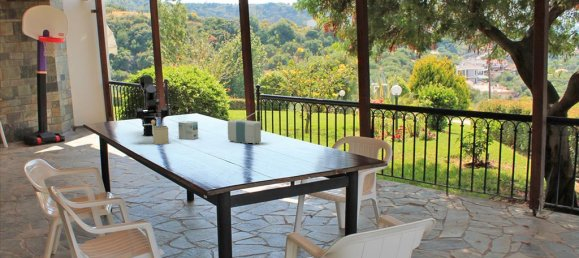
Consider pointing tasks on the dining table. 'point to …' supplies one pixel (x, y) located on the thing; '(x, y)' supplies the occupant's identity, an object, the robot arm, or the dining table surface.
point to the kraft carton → (161, 135)
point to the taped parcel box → (244, 131)
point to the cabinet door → (153, 126)
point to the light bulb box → (188, 130)
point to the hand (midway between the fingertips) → (153, 123)
